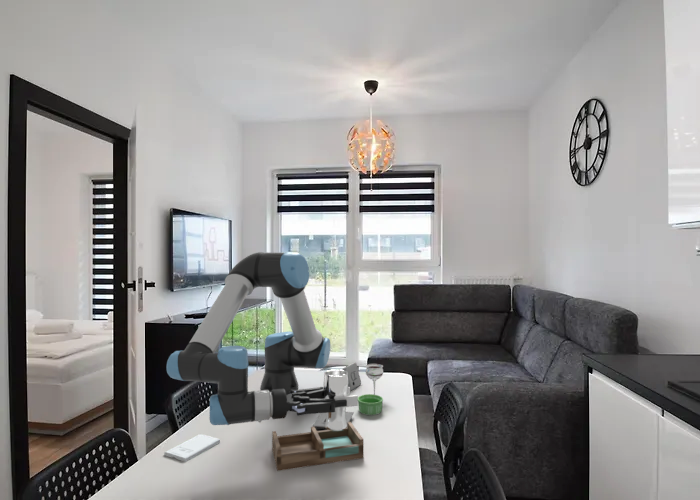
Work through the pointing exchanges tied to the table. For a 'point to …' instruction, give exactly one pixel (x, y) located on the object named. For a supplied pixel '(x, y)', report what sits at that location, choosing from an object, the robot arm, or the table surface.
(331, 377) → the chrome pint tumbler
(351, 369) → the electrical switch
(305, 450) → the caddy
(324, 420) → the electrical outlet
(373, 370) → the wineglass
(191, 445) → the external hard drive
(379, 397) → the ramekin
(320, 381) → the table surface
